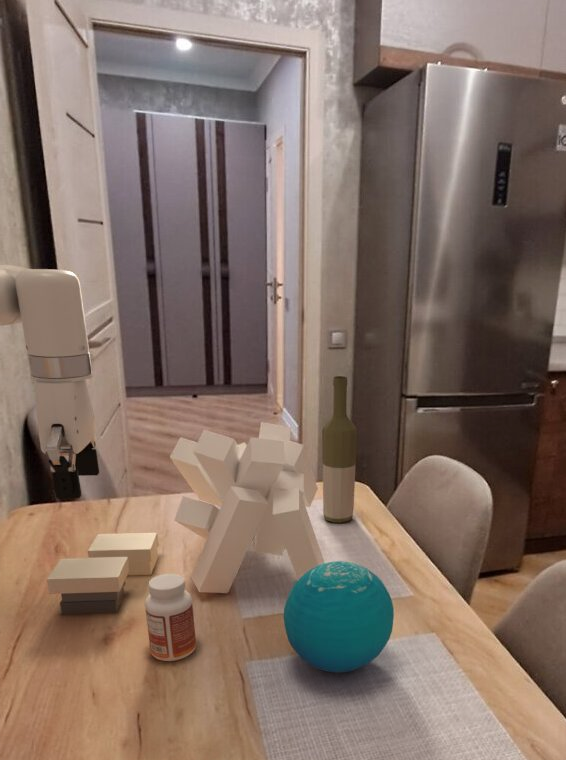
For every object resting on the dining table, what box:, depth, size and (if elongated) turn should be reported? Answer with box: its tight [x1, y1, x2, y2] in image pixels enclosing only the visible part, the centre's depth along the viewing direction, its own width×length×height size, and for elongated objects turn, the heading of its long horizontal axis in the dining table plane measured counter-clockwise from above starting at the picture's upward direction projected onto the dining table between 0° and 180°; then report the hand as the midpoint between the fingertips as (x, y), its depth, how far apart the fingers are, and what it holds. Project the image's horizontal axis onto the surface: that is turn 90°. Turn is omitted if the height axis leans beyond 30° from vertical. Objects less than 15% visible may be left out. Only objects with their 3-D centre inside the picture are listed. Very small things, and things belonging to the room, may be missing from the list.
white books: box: [87, 532, 159, 576], centre depth 116 cm, size 10×7×5 cm
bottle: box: [321, 375, 358, 524], centre depth 136 cm, size 7×7×30 cm
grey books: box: [59, 580, 126, 615], centre depth 104 cm, size 8×6×4 cm
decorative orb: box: [283, 560, 395, 674], centre depth 91 cm, size 15×15×15 cm
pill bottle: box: [144, 573, 197, 662], centre depth 92 cm, size 6×6×11 cm
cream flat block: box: [46, 557, 129, 595], centre depth 103 cm, size 10×7×2 cm
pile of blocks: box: [169, 421, 325, 594], centre depth 115 cm, size 35×30×35 cm
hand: (79, 485), depth 97 cm, fingers open, 9 cm apart
